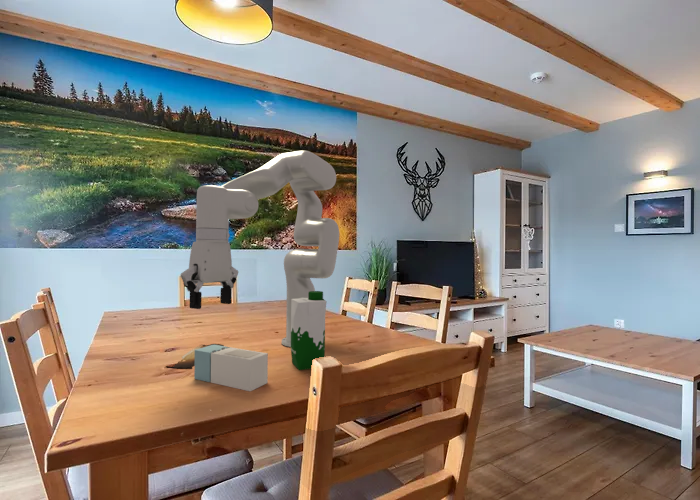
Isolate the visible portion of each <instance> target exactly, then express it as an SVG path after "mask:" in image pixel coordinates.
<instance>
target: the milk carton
mask: <svg viewBox="0 0 700 500" xmlns="http://www.w3.org/2000/svg"><path fill="white" fill-rule="evenodd" d="M308 297H309V298H300V299H291V347H290V351H291V352H290V353H291V363H292V364H293V365H294V366H295V368H296V369H297V370H298V371H304V370H312V369H311V365H312V360H313V359H315V358H319V357H324V356H325V354H326V311H327V300H326V299H324V292H323V291H321V290H315V291H310V292H309V296H308Z"/></svg>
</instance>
